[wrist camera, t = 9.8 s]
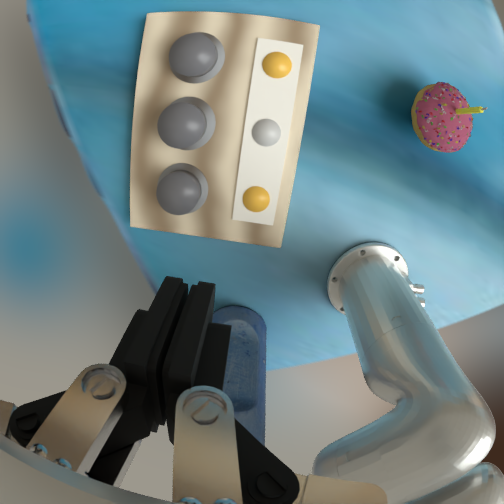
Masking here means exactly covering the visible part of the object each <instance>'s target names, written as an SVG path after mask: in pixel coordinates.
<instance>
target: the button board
mask: <svg viewBox="0 0 504 504" xmlns="http://www.w3.org/2000/svg"><path fill="white" fill-rule="evenodd" d="M319 28H320V25H315V24H310V23H305V22H300V21H294V20H288V19H282V18H275V17H268V16H260V15H250V14H239V13H225V12H158V13H147V18H146V23H145V28H144V34H143V40H142V46H141V53H140V59H139V67H138V74H137V83H136V92H135V102H134V113H133V126H132V142H131V166H130V227H137V228H144V229H151V230H158V231H165V232H172V233H180V234H187V235H194V236H201V237H208V238H215V239H222V240H228V241H235V242H242V243H249V244H256V245H263V246H270V247H276V248H281V244H282V239H283V234H284V229H285V224H286V219H287V214H288V209H289V204H290V198H291V193H292V188H293V182H294V177H295V172H296V166H297V161H298V155H299V150H300V144H301V139H302V133H303V127H304V122H305V116H306V110H307V104H308V98H309V92H310V86H311V80H312V74H313V67H314V61H315V55H316V48H317V41H318V35H319ZM190 33H198V34H202V35H204V36H206V37H208V38H209V39H210V40H211V41H212V42H213V43H214V45H215V46H216V48H217V51H218V59H217V62H216V65H215V66H214V68H213V69H212V70H211V71H210V72H208V73H207V74H205V75H203V76H200V77H188V76H185V75H182V74H179V73H177V72H176V71H175V70H174V69H173V68H172V67H171V65H170V62H169V51H170V48H171V46H172V45H173V43H174V42H175V41H176V40H177V39H178V38H180V37H182V36H184V35H186V34H190ZM258 38H263V39H271V40H278V41H284V42H290V43H296V44H301V45H303V51H302V58H301V64H300V70H299V77H298V83H297V89H296V95H295V101H294V107H293V113H292V120H291V125H290V131H289V137H288V143H287V149H286V155H285V161H284V167H283V172H282V178H281V184H280V189H279V195H278V201H277V206H276V212H275V217H274V223H273V226H272V225H266V224H259V223H252V222H245V221H239V220H232V218H233V210H234V202H235V194H236V186H237V178H238V171H239V163H240V156H241V149H242V142H243V134H244V127H245V120H246V113H247V107H248V100H249V93H250V86H251V80H252V73H253V67H254V60H255V54H256V48H257V42H258ZM179 102H187V103H192V104H195V105H197V106H198V107H200V108H201V109H202V111H203V112H204V114H205V116H206V119H207V128H206V131H205V134H204V135H203V137H202V138H201V139H200V140H199V141H198V142H197V143H195V144H193V145H191V146H189V147H187V148H182V149H177V148H173V147H170V146H168V145H167V144H165V143H164V142H163V141H162V139H161V138H160V136H159V134H158V129H157V123H158V119H159V116H160V114H161V113H162V111H163V110H164V109H165V108H166V107H168V106H169V105H171V104H174V103H179ZM175 170H186V171H189V172H191V173H193V174H194V175H195V176H196V177H197V178H198V180H199V182H200V184H201V189H202V193H201V197H200V199H199V201H198V203H197V204H196V206H195V207H194V208H193V210H191V211H190V212H189V213H187V214H184V215H173V214H170V213H168V212H166V211H165V210H164V209H163V208H162V207H161V206H160V204H159V203H158V200H157V196H156V190H157V186H158V184H159V182H160V181H161V180H162V179H163V178H164V177H165V176H166V175H168V174H169V173H170V172H172V171H175Z"/></svg>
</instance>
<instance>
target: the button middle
mask: <svg viewBox="0 0 504 504" xmlns="http://www.w3.org/2000/svg"><path fill="white" fill-rule="evenodd" d="M206 128H207V119H206V116H205V114H204V112H203V111H202V109H201V108H200V107H198V106H197V105H195V104H192V103H187V102H179V103H174V104H171V105H169V106H168V107H166V108H165V109H164V110H163V111H162V113H161V114H160V116H159V119H158V123H157V129H158V134H159V136H160V138H161V139H162V141H163V142H164V143H165V144H167V145H168V146H170V147H173V148H177V149H182V148H187V147H189V146H191V145H193V144H195V143H197V142H198V141H199V140H200V139H201V138H202V137H203V135H204V134H205V131H206Z"/></svg>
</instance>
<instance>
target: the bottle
mask: <svg viewBox="0 0 504 504" xmlns="http://www.w3.org/2000/svg"><path fill="white" fill-rule="evenodd" d="M212 322H213V323H219V324H226V325H232V328H231V335H230V343H229V350H228V357H227V364H226V371H225V378H224V385H223V392H224V393H225V394H226V395H227V396H228V397H229V398H230V400H231V401H232V405H233V408H234V418H235V419H236V420H237V421H238V422H239V423H241V424H242V425H243V426H244V427H245V428H246V429H247V430H248V431H249V432H250V433H251V434H252V435H253V436H254V437H255V438H256V439H257V440H258V441H259V442H260V443H262V444H263V445H264V446H265V388H266V385H265V384H266V325H265V322H264V320H263V319H262V317H261V316H260V315H258V314H257V313H256V312H254V311H252V310H250V309H248V308H245V307H240V306H227V307H224V308H221V309H219V310H217V311H215V312H214V313H213V319H212Z"/></svg>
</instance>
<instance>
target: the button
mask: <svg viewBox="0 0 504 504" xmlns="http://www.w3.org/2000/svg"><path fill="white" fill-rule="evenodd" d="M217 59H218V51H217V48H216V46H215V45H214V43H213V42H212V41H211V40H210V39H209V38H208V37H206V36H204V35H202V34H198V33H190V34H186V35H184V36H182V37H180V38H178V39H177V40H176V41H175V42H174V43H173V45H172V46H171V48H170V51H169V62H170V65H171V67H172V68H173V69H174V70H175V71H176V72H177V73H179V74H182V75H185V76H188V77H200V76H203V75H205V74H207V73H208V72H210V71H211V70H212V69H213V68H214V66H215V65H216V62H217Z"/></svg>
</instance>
